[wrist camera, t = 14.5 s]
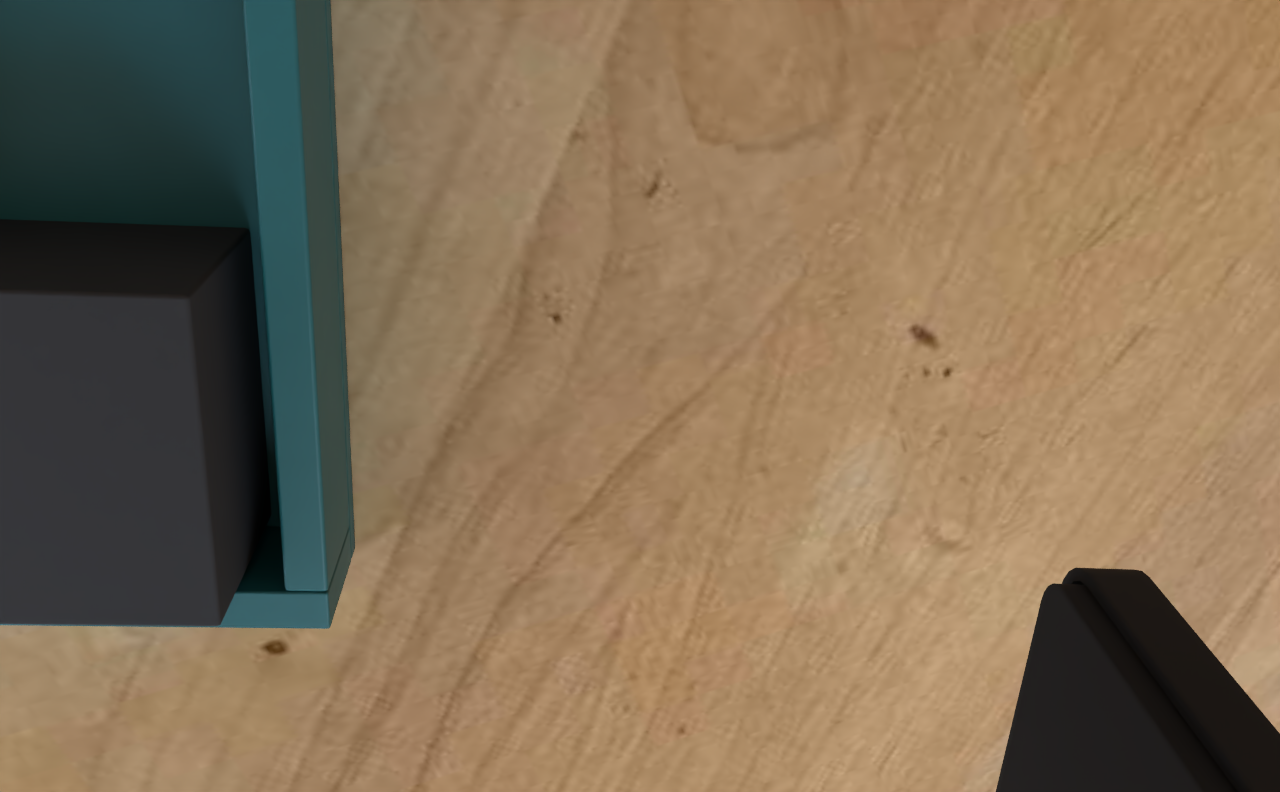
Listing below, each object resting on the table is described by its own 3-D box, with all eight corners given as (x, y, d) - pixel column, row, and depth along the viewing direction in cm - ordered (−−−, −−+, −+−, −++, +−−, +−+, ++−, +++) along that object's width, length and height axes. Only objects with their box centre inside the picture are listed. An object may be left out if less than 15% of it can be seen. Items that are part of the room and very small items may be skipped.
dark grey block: (-62, 215, 22) (-191, 283, 18) (251, 226, 22) (188, 294, 18) (-10, 510, 24) (-114, 625, 20) (272, 516, 24) (220, 628, 21)
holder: (-234, -267, 19) (-369, -292, 16) (320, -232, 20) (281, -250, 17) (-71, 541, 25) (-150, 624, 22) (355, 548, 25) (330, 629, 23)
